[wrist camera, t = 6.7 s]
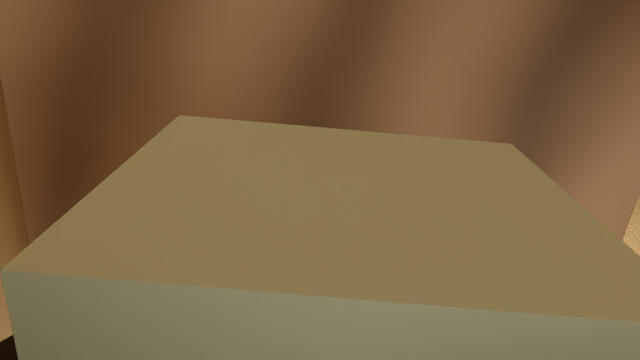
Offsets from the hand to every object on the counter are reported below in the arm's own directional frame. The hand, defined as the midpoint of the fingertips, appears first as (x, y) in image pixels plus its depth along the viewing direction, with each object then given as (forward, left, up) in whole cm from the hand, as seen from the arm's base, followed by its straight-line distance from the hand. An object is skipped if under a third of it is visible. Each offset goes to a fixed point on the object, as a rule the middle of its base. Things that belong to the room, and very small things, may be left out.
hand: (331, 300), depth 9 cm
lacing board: (0, 0, -8) cm, 8 cm away
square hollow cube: (0, 0, -1) cm, 1 cm away
